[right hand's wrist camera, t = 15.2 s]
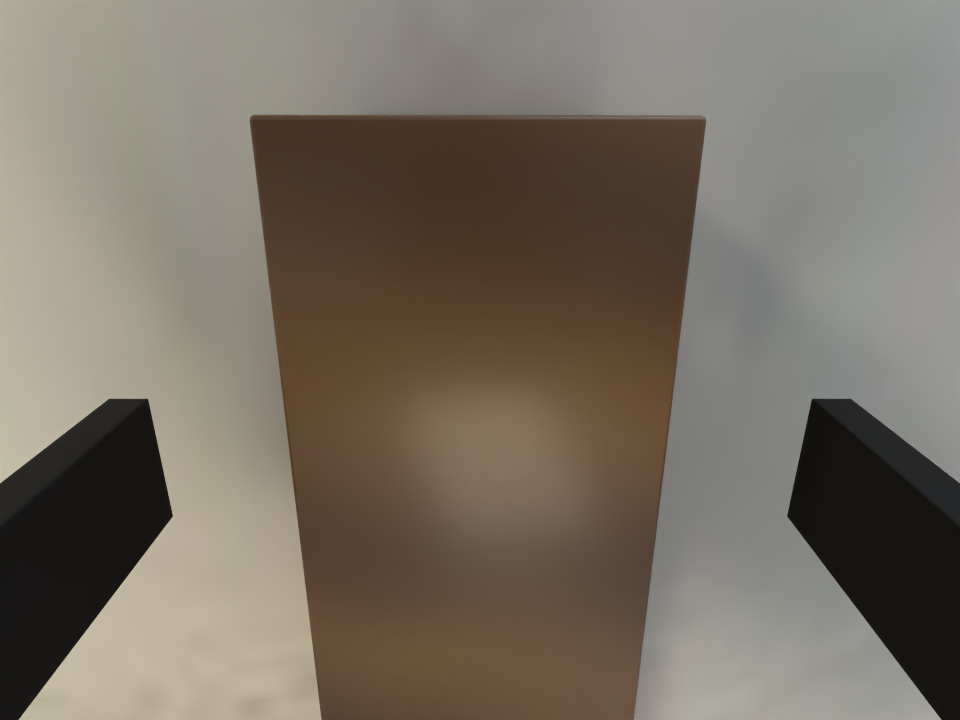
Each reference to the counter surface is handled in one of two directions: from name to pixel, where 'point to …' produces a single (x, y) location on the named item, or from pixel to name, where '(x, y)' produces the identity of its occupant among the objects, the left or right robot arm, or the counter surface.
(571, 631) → the bar
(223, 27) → the counter surface
